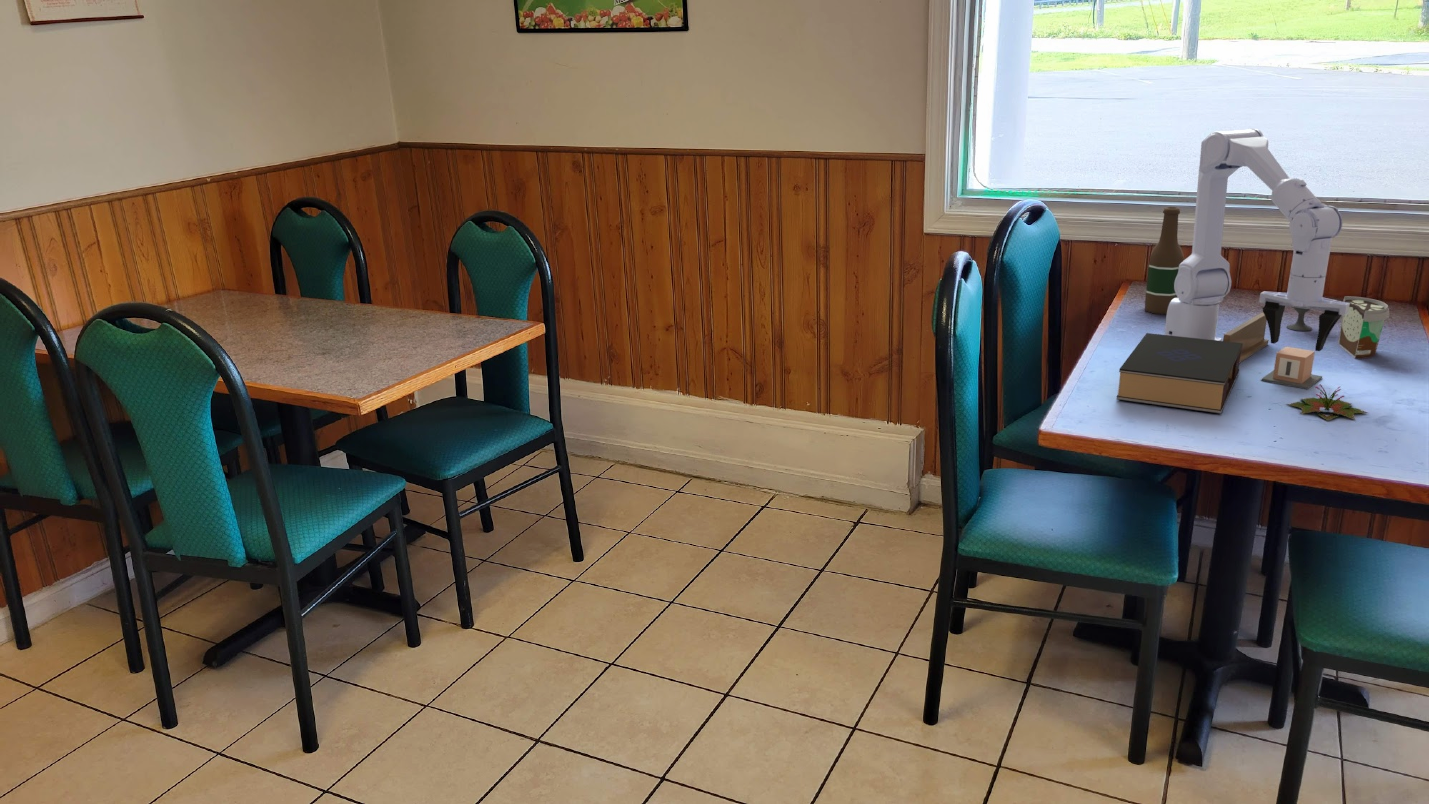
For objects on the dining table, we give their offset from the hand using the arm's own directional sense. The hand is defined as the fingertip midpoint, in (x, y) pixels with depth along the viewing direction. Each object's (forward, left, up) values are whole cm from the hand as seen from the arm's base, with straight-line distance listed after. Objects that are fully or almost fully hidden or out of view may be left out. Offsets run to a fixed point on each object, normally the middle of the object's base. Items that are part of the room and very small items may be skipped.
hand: (1296, 345), depth 194 cm
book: (-14, -17, -7) cm, 23 cm away
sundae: (-10, +36, -7) cm, 38 cm away
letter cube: (0, 0, -6) cm, 6 cm away
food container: (+5, +26, -7) cm, 27 cm away
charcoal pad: (0, 0, -7) cm, 7 cm away
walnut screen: (-12, +10, -7) cm, 17 cm away
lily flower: (+10, -13, -7) cm, 18 cm away
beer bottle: (-39, +33, -7) cm, 51 cm away
